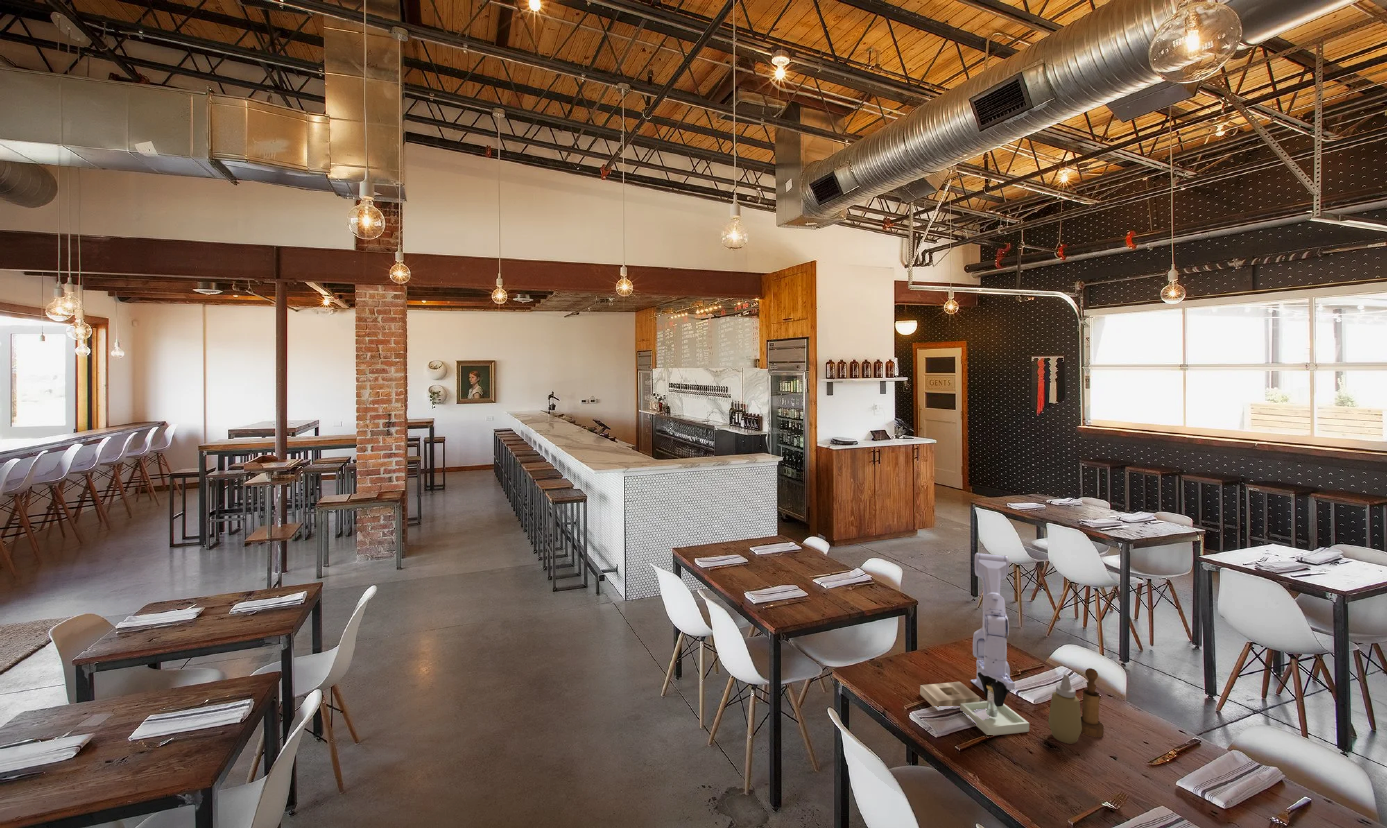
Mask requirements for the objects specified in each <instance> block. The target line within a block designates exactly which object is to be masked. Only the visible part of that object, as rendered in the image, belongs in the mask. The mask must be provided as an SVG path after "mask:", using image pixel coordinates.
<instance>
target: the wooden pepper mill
mask: <svg viewBox="0 0 1387 828" xmlns="http://www.w3.org/2000/svg"><path fill="white" fill-rule="evenodd" d="M1084 674H1085V677H1086V678H1087V680H1088V682H1087V683H1086V688H1087V689H1082V690H1083V691H1082V713H1081V725H1082V731H1081V734H1084V735H1086V736H1089V737H1092V738H1093V737H1094V738H1101V737H1103V736H1104V735H1105V734H1104V730H1105V726H1104V725H1103V723H1101V721H1100V720H1099V715H1100V700H1101V699H1100V697H1101V696H1100V693H1099V692H1097V691H1096V689H1097V684H1095V681H1096V680H1097V679H1098V677H1099V673H1098V671H1097V670H1096V669H1095V668H1092V667H1091V668H1090V667H1089V668H1086V669H1085V673H1084Z"/></svg>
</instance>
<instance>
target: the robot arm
mask: <svg viewBox="0 0 1387 828" xmlns="http://www.w3.org/2000/svg"><path fill="white" fill-rule="evenodd" d="M1009 571H1010V559H1009V556H1007V555H1005V554H1004V555H1001V554H990V553H982V552H976V553H975V554H974V574H975V577H978V578H980V579H981V581H982V627H980V629H979V628H978V629H977V630H976V631H974V633H973V638H972V656H973V657H974V658H976V662H975V663H976V664H975V666H976V678H975V679H970V682H971V683H972V684H973V685H975V687H978V689H980V690H982V692H983V693H984V698H985V699H986V700H987V697H988V689H987V688H986V685H987V683H989V682H991V686H992V688H993V692H994V702H995V706H997V707H999V706H1003V704H1005V701H1006V698H1007V696H1008V694H1009V692H1010V691H1012V690H1015V689H1016V687H1015V686H1016V683H1015V682H1014V681H1013V680H1012V679H1011V668H1010V665H1009V662H1008V661H1007V656H1008V655H1007V654H1008V653H1007V651H1008V648H1007V638H1009V633H1010V632H1009V631H1010V624H1009V618H1008V614H1007V610H1006V601H1005V597H1003V596H1002V595H1001V580H1006V578H1007V577H1008V574H1009Z"/></svg>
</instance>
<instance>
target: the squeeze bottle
mask: <svg viewBox="0 0 1387 828" xmlns="http://www.w3.org/2000/svg"><path fill="white" fill-rule="evenodd" d="M1076 693H1077V692H1076V689H1075V688H1074V687H1073V686H1071V681H1070V676H1069V675H1068V674H1063V677H1062V680H1061V683H1059V684H1057V685H1055V691H1054V692H1052V694H1051V699H1050V700H1051V701H1050V705H1049V706H1050V707H1049V715H1048V720H1047V723H1048V725H1049V729H1050V732H1051V735H1052V737H1053V738H1054V739H1056V740H1057V741H1059V742H1061V743H1065V744H1070V745H1071V744H1075V743H1077V741H1078V740H1079V738H1080V735H1081V734H1082V732H1081V731H1082V725H1081V716H1082V713H1081V703H1080V702H1081V701H1080V699H1079V698H1078V697H1077V695H1076Z"/></svg>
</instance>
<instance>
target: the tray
mask: <svg viewBox="0 0 1387 828" xmlns="http://www.w3.org/2000/svg"><path fill="white" fill-rule="evenodd" d="M985 708H987V700H983V701H980V702H971V703H961V704H960V709H961V710H962V711H963V712H964V713H966V714H967V715H969V716H970V717H971V718H972V719H973V720H974V721H975V722H976V723H977V725H975V726H976V727H977V728H978V729H979V730H981V731H982V732H983V733H984V734H985V735H993V736H1000V735H1011V734H1019V733H1020V734H1021V733H1028V732H1030V722H1028V720H1026V719H1025V718H1024V717H1022V716H1021V715H1019V714H1018V713H1017V712H1016V711H1014V710H1013V709H1011V708H1010V707H1009V706H1008V705H1006V704H1005V703H1004V704H1003V706H999V707H998V716H997V717H987V718H989V719H985V720H984V721H983V720H982V719H981V718H979V717H978V716H977V715H976V714H975V713H974V712H972V711H974V710H976V709H985ZM960 709H959V710H960Z"/></svg>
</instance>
